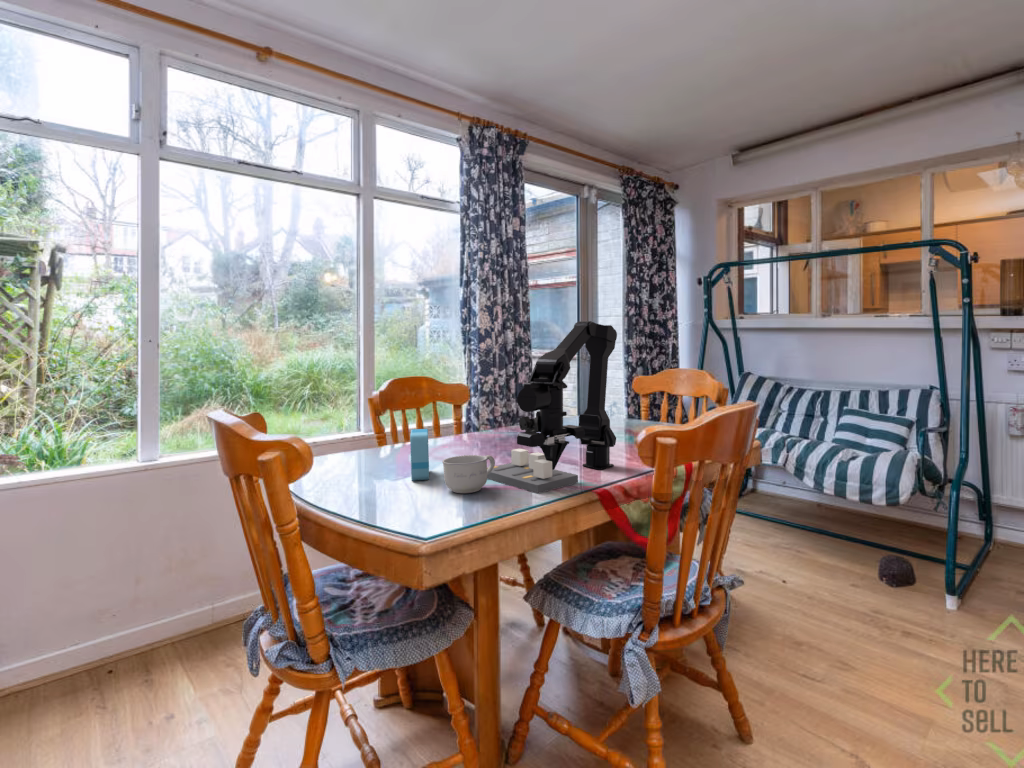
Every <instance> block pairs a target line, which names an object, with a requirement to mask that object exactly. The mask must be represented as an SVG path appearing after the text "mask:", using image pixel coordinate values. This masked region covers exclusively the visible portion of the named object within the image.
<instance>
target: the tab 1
mask: <svg viewBox="0 0 1024 768" xmlns="http://www.w3.org/2000/svg"><path fill="white" fill-rule="evenodd" d="M510 452H511V454H510V455H511V456H510V457H511V459H510V460H511V461H510V463H512V464H514V465H518V466H523V465H527V464H529V450H528V449H524V448H516V449H511V451H510Z"/></svg>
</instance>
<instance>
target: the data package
mask: <svg viewBox="0 0 1024 768" xmlns="http://www.w3.org/2000/svg"><path fill="white" fill-rule="evenodd" d="M409 442H410V469H411V470H410V471H411V472H410V476H411V481H413V482H415V481H416V482H417V481H429V480H430V461H429V460H430V458H429V457H430V455H429V454H430V453H429V429H428V428H417V429H416V428H414V429H410V438H409Z"/></svg>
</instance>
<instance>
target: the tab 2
mask: <svg viewBox="0 0 1024 768" xmlns="http://www.w3.org/2000/svg"><path fill="white" fill-rule="evenodd" d="M533 476H535V477H539V478H542V479H545V478H549V477H552V461H548V460H543V459H541V460H536V461H533Z"/></svg>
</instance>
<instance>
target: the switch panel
mask: <svg viewBox="0 0 1024 768" xmlns="http://www.w3.org/2000/svg"><path fill="white" fill-rule="evenodd" d="M487 469H488V467H487ZM487 480H491V481H494V482H497V483H499V484H500V483H501V484H503V485H507V486H510V487H515V488H518V489H521V490H524V491H527V492H531V493H534V494H541V493H545V492H548V491H552V490H557V489H561V488H563V487H567V486H571V485H575V484H578V483H579V474H575V473H571V472H567V471H563V470H558V469H556V468H555V469H554V470H552V477H549V478H545V479H542V478H539V477H535V476H533V469H530V468H529V464H527V465H523V466H518V465H514V464H512V463H511V462H509V463H505V464H499V465H495V466H494V468H493V470H492V471H491V472H490V473H489V474H488V475H487Z"/></svg>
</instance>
